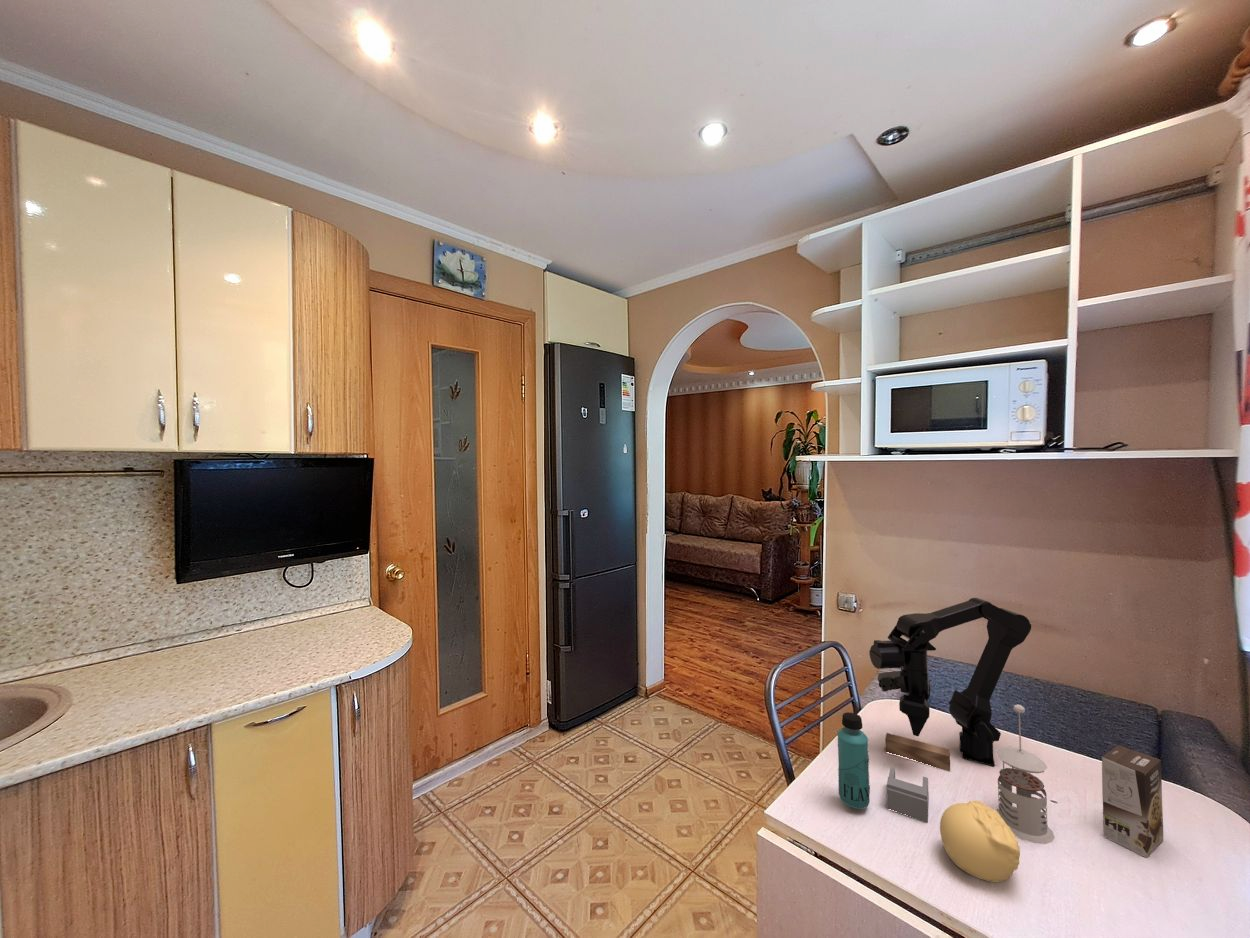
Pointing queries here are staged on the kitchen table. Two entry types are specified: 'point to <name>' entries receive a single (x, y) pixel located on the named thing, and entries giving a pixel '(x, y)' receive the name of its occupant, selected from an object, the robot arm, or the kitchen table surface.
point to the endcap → (908, 797)
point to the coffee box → (1132, 800)
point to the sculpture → (979, 841)
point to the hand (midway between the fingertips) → (916, 727)
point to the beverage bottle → (853, 762)
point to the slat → (918, 751)
